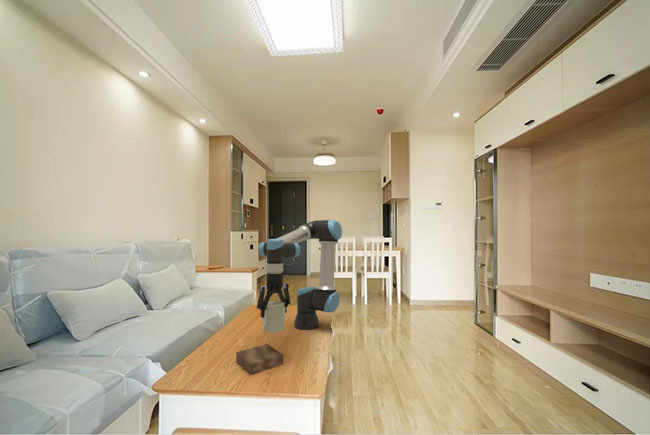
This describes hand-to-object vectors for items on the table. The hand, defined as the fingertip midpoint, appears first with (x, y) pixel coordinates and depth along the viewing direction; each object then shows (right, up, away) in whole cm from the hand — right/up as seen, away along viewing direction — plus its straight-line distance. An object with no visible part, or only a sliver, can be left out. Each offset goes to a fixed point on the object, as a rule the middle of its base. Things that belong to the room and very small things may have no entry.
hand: (273, 322), depth 127 cm
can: (0, -3, 0) cm, 3 cm away
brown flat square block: (-5, -16, -5) cm, 17 cm away
